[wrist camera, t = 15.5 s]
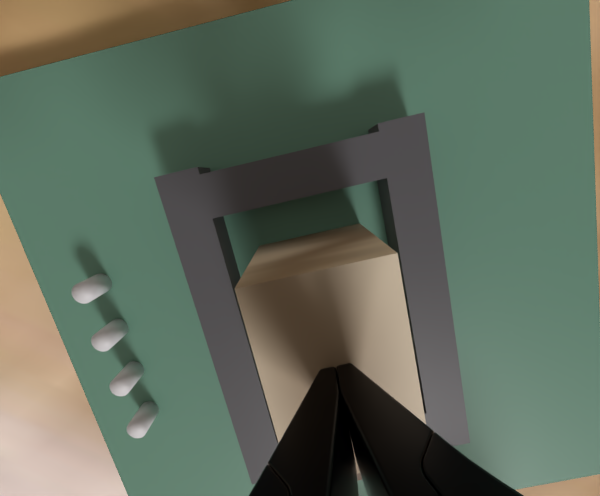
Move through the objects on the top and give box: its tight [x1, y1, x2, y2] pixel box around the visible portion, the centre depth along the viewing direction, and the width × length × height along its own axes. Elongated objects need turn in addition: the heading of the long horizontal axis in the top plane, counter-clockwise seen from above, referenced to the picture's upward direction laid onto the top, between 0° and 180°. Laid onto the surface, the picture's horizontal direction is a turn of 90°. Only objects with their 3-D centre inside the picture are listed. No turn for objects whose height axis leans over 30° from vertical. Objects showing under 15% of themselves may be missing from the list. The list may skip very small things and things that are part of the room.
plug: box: [235, 223, 426, 481], centre depth 11 cm, size 4×7×5 cm, turn 13°
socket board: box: [0, 0, 600, 496], centre depth 13 cm, size 22×22×2 cm
